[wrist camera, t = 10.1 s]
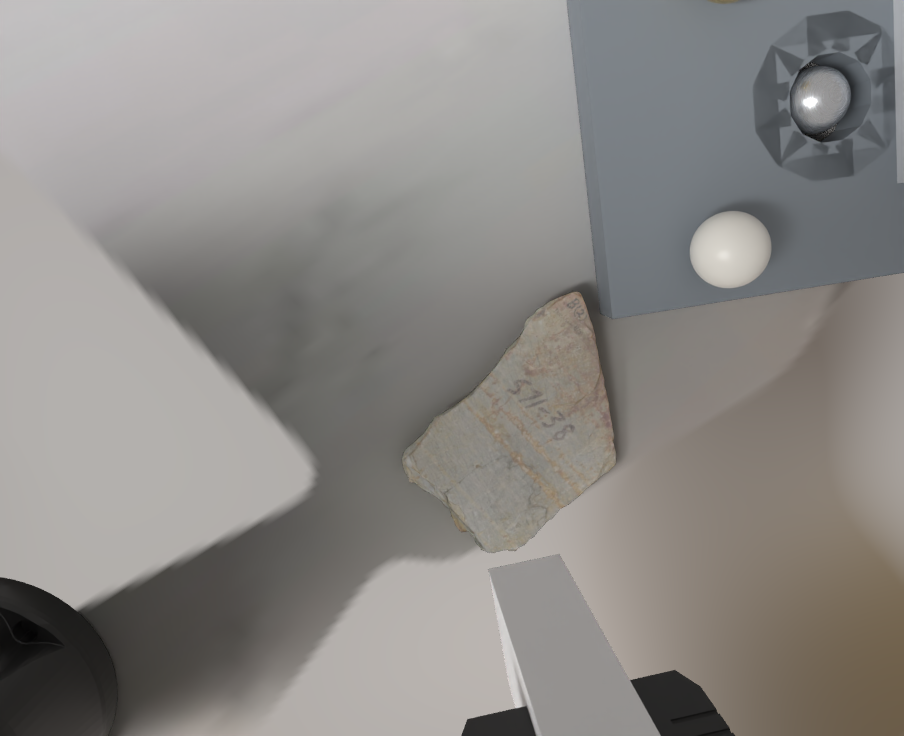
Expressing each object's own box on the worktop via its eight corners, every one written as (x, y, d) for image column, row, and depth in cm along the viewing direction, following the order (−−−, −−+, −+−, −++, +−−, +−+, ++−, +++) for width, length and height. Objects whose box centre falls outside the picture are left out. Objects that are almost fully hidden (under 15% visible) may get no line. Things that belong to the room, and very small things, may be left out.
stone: (560, 278, 43) (570, 281, 40) (672, 404, 45) (688, 414, 42) (378, 448, 44) (376, 461, 41) (495, 563, 46) (501, 583, 43)
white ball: (681, 290, 40) (712, 297, 36) (675, 217, 39) (705, 216, 35) (750, 279, 40) (788, 285, 36) (746, 206, 40) (784, 204, 36)
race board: (600, 313, 43) (626, 325, 38) (560, -56, 39) (584, -96, 34) (893, 267, 43) (956, 272, 39) (884, -99, 39) (953, -145, 35)
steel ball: (767, 142, 41) (810, 132, 38) (763, 77, 41) (806, 62, 37) (821, 134, 42) (867, 124, 38) (818, 71, 41) (865, 55, 38)
